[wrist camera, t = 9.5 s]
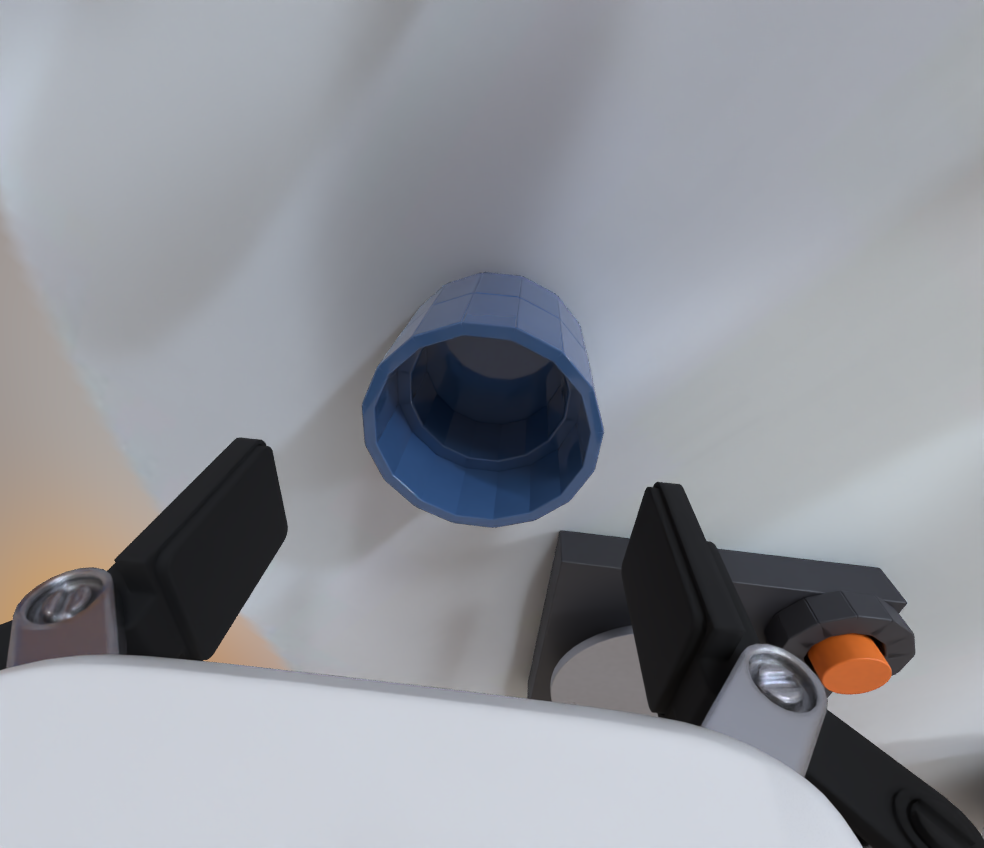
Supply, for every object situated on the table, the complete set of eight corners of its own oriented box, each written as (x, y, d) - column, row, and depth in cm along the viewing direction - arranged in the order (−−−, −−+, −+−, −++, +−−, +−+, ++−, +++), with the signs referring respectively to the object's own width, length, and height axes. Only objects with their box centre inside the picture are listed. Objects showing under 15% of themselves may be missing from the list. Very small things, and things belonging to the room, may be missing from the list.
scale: (891, 563, 23) (943, 626, 20) (775, 714, 31) (801, 776, 28) (560, 524, 24) (563, 580, 21) (527, 682, 31) (526, 739, 28)
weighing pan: (810, 638, 21) (815, 648, 21) (727, 753, 27) (730, 763, 27) (568, 608, 22) (569, 618, 21) (537, 728, 27) (537, 737, 27)
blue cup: (601, 279, 17) (626, 338, 12) (569, 441, 21) (578, 538, 16) (407, 259, 17) (353, 310, 12) (410, 423, 21) (369, 513, 16)
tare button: (886, 635, 21) (905, 663, 20) (855, 670, 23) (872, 698, 22) (823, 627, 21) (839, 655, 20) (797, 662, 23) (811, 690, 22)
